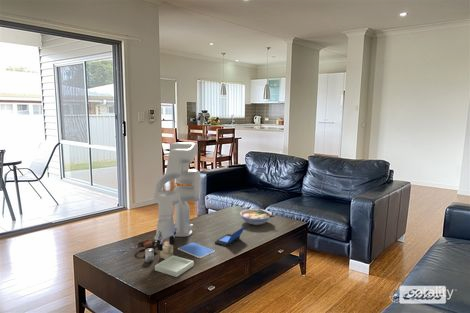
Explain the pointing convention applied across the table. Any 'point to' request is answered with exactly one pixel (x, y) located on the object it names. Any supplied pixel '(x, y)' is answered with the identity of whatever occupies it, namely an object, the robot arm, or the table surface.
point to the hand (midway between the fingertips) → (166, 247)
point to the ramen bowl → (256, 216)
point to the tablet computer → (196, 250)
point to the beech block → (166, 251)
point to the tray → (174, 265)
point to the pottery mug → (147, 244)
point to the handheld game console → (229, 238)
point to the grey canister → (149, 255)
